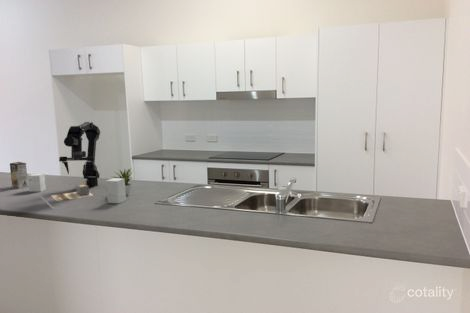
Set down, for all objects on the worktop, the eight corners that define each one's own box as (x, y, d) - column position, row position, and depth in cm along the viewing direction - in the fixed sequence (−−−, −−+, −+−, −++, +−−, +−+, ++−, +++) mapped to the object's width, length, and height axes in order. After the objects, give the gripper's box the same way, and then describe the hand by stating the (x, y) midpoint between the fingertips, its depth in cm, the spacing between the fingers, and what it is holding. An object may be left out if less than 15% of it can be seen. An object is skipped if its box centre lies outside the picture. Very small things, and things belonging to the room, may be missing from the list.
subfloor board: (85, 191, 239) (85, 190, 239) (93, 196, 227) (93, 195, 226) (50, 197, 228) (50, 195, 227) (57, 202, 215) (57, 200, 215)
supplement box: (126, 200, 218) (125, 178, 216) (118, 203, 211) (117, 181, 209) (115, 199, 220) (114, 177, 218) (107, 202, 213) (105, 180, 211)
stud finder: (84, 191, 235) (84, 183, 235) (89, 194, 228) (88, 186, 228) (76, 193, 233) (75, 184, 232) (80, 195, 225) (79, 187, 225)
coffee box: (11, 187, 256) (9, 163, 254) (21, 185, 262) (18, 161, 259) (19, 188, 252) (16, 164, 249) (28, 186, 257) (26, 162, 254)
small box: (46, 189, 247) (44, 173, 246) (40, 191, 242) (39, 175, 240) (34, 189, 248) (32, 173, 246) (28, 191, 242) (27, 175, 241)
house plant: (120, 191, 240) (119, 165, 238) (141, 191, 237) (140, 165, 235) (108, 196, 226) (107, 169, 224) (130, 197, 224) (129, 169, 221)
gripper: (60, 146, 217) (60, 174, 216) (95, 146, 225) (95, 173, 225) (58, 147, 227) (59, 174, 226) (92, 147, 235) (92, 173, 235)
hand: (76, 173), depth 228 cm, fingers open, 9 cm apart
